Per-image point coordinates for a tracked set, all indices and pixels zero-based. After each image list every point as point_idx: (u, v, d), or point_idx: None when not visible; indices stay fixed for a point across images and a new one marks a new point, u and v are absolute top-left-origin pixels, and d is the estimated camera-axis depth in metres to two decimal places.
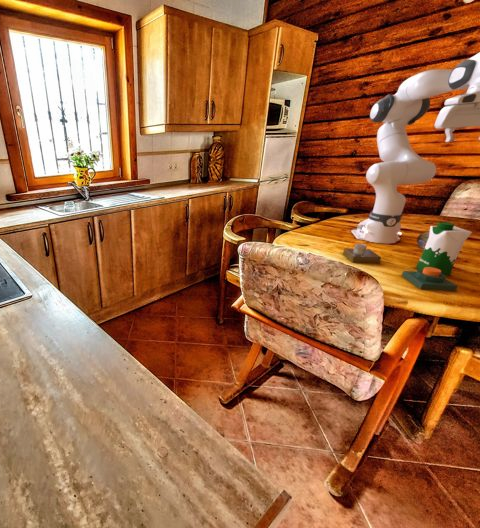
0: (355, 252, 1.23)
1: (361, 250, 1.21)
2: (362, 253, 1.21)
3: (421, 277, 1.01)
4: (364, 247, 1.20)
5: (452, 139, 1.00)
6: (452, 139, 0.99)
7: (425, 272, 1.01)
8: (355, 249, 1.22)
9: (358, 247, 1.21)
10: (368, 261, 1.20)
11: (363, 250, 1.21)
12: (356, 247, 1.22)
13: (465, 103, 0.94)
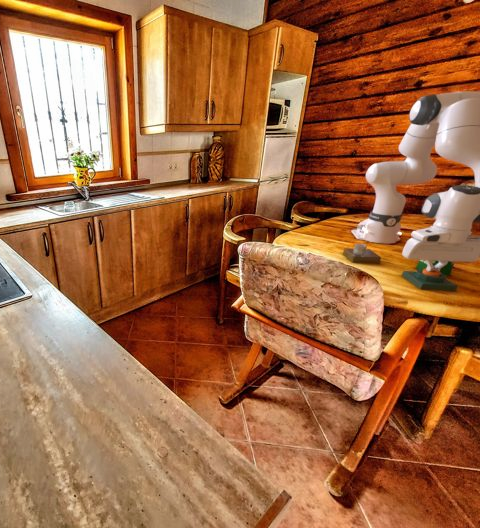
0: (355, 252, 1.23)
1: (361, 250, 1.21)
2: (362, 253, 1.21)
3: (421, 277, 1.01)
4: (364, 247, 1.20)
5: (432, 270, 1.00)
6: (432, 270, 1.00)
7: None
8: (355, 249, 1.22)
9: (358, 247, 1.21)
10: (368, 261, 1.20)
11: (363, 250, 1.21)
12: (356, 247, 1.22)
13: (429, 241, 0.95)
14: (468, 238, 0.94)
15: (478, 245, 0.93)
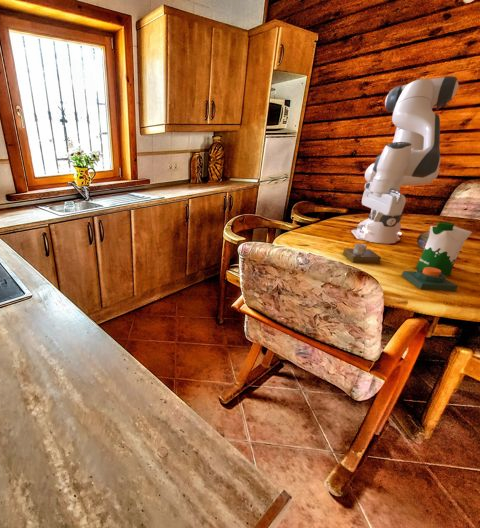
0: (355, 252, 1.23)
1: (361, 250, 1.21)
2: (362, 253, 1.21)
3: (421, 277, 1.01)
4: (364, 247, 1.20)
5: (372, 218, 1.16)
6: (371, 218, 1.16)
7: (425, 272, 1.01)
8: (355, 249, 1.22)
9: (358, 247, 1.21)
10: (368, 261, 1.20)
11: (363, 250, 1.21)
12: (356, 247, 1.22)
13: (367, 189, 1.17)
14: (391, 191, 1.05)
15: (389, 198, 1.04)
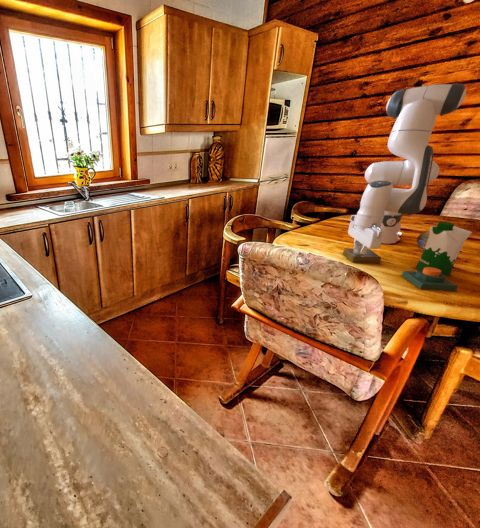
0: (355, 252, 1.23)
1: None
2: None
3: (421, 277, 1.01)
4: None
5: None
6: None
7: (425, 272, 1.01)
8: (355, 249, 1.22)
9: (358, 247, 1.21)
10: (368, 261, 1.20)
11: None
12: (356, 247, 1.22)
13: (352, 221, 1.24)
14: (373, 226, 1.13)
15: (371, 233, 1.12)
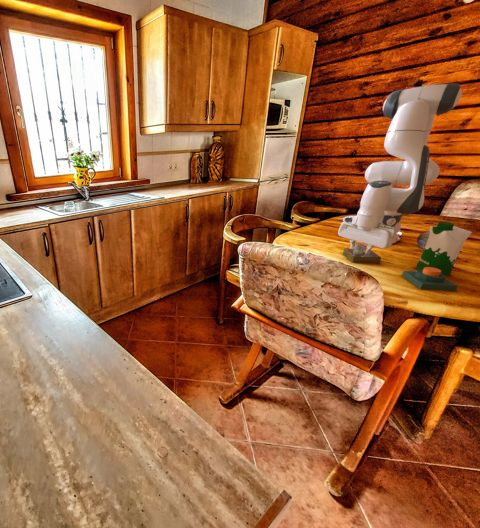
0: (357, 253, 1.22)
1: None
2: (364, 253, 1.21)
3: (421, 277, 1.01)
4: None
5: (352, 248, 1.25)
6: (352, 248, 1.25)
7: (425, 272, 1.01)
8: (357, 250, 1.22)
9: (361, 247, 1.20)
10: (368, 261, 1.20)
11: None
12: (358, 248, 1.21)
13: (347, 222, 1.23)
14: (381, 226, 1.13)
15: (384, 233, 1.11)
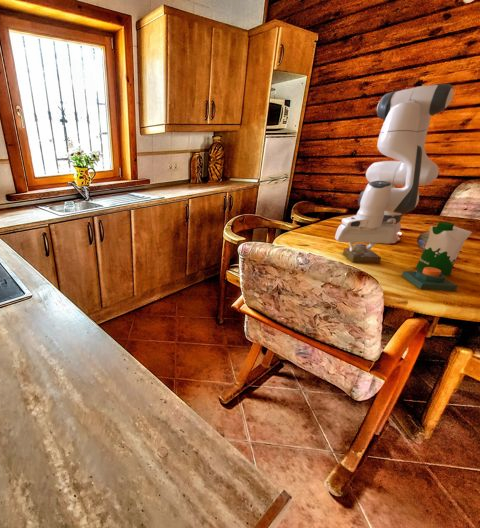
0: (363, 253, 1.21)
1: None
2: None
3: (421, 277, 1.01)
4: None
5: (353, 250, 1.23)
6: (353, 250, 1.22)
7: (425, 272, 1.01)
8: (363, 250, 1.21)
9: (365, 247, 1.20)
10: (368, 261, 1.20)
11: None
12: (364, 248, 1.20)
13: (353, 226, 1.17)
14: (383, 223, 1.16)
15: (391, 229, 1.15)
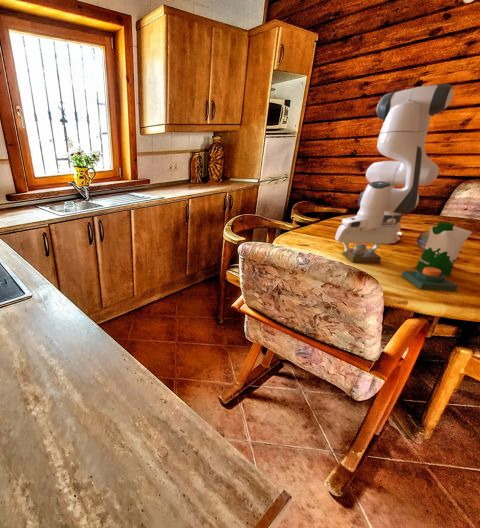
0: (363, 253, 1.21)
1: None
2: None
3: (421, 277, 1.01)
4: None
5: (348, 250, 1.23)
6: (348, 250, 1.23)
7: (425, 272, 1.01)
8: (363, 250, 1.21)
9: (365, 247, 1.20)
10: (368, 261, 1.20)
11: None
12: (364, 248, 1.20)
13: (353, 227, 1.17)
14: (383, 224, 1.16)
15: (391, 230, 1.15)
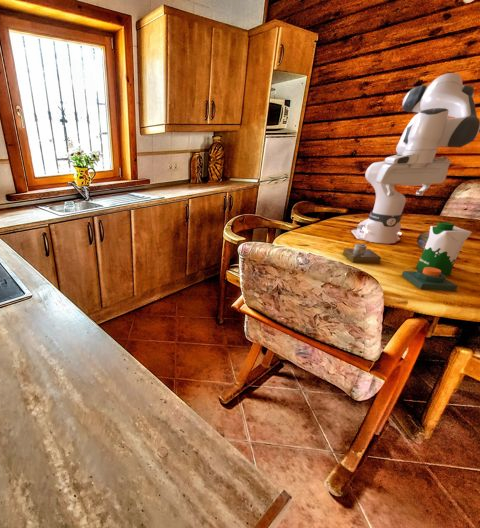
0: (363, 253, 1.21)
1: None
2: None
3: (421, 277, 1.01)
4: None
5: (391, 194, 1.09)
6: (392, 193, 1.09)
7: (425, 272, 1.01)
8: (363, 250, 1.21)
9: (365, 247, 1.20)
10: (368, 261, 1.20)
11: None
12: (364, 248, 1.20)
13: (400, 164, 1.03)
14: (435, 159, 1.02)
15: (444, 165, 1.01)
